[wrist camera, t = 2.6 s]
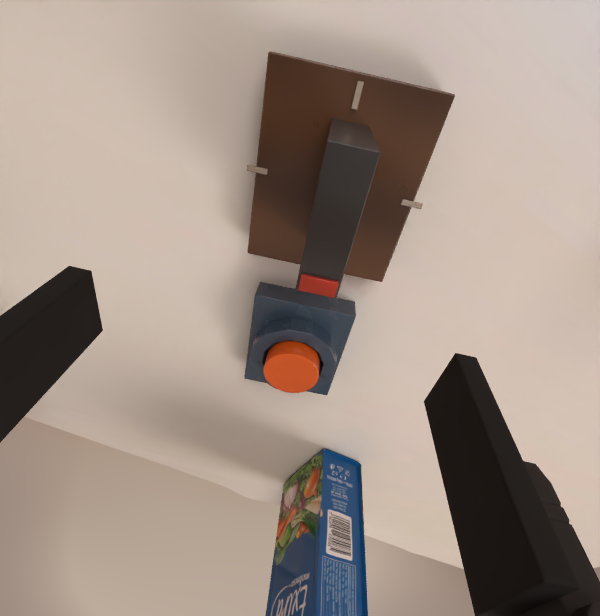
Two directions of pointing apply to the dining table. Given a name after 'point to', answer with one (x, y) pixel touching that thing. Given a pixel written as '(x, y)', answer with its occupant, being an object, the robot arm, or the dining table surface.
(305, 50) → the dining table surface
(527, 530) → the robot arm
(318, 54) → the dining table surface
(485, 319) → the dining table surface
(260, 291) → the button box
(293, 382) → the button
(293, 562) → the blue food package
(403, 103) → the dial panel
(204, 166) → the dining table surface
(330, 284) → the red-cornered grey panel
